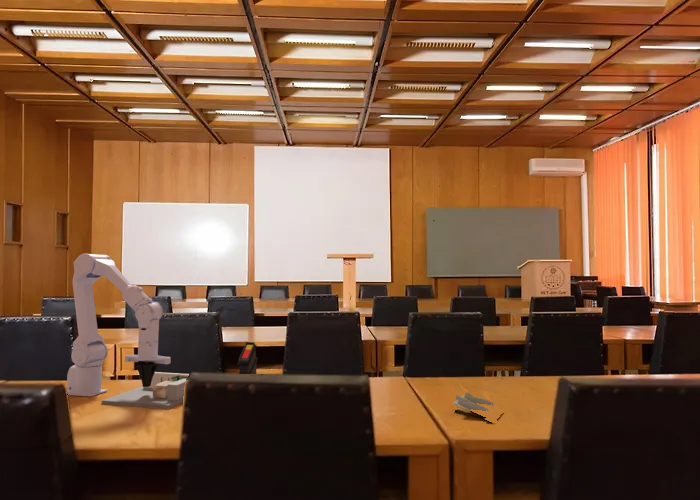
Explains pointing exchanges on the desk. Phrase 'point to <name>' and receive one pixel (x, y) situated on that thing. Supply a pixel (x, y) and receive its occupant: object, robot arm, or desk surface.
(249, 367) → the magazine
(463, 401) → the grey angular piece
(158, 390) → the block
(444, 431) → the desk surface
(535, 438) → the desk surface
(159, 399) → the gauge board
